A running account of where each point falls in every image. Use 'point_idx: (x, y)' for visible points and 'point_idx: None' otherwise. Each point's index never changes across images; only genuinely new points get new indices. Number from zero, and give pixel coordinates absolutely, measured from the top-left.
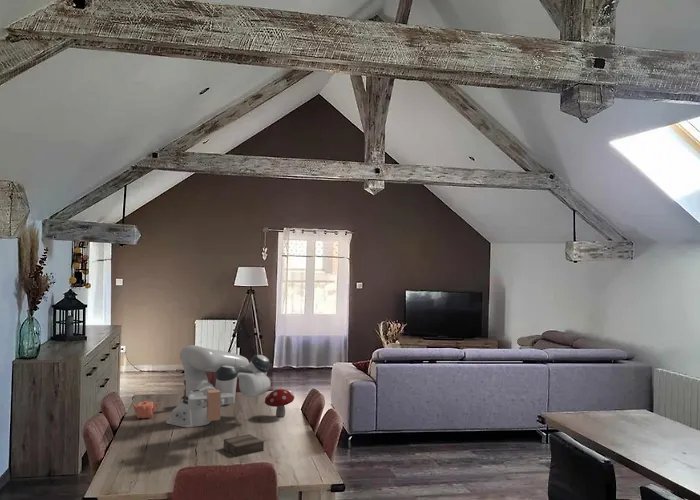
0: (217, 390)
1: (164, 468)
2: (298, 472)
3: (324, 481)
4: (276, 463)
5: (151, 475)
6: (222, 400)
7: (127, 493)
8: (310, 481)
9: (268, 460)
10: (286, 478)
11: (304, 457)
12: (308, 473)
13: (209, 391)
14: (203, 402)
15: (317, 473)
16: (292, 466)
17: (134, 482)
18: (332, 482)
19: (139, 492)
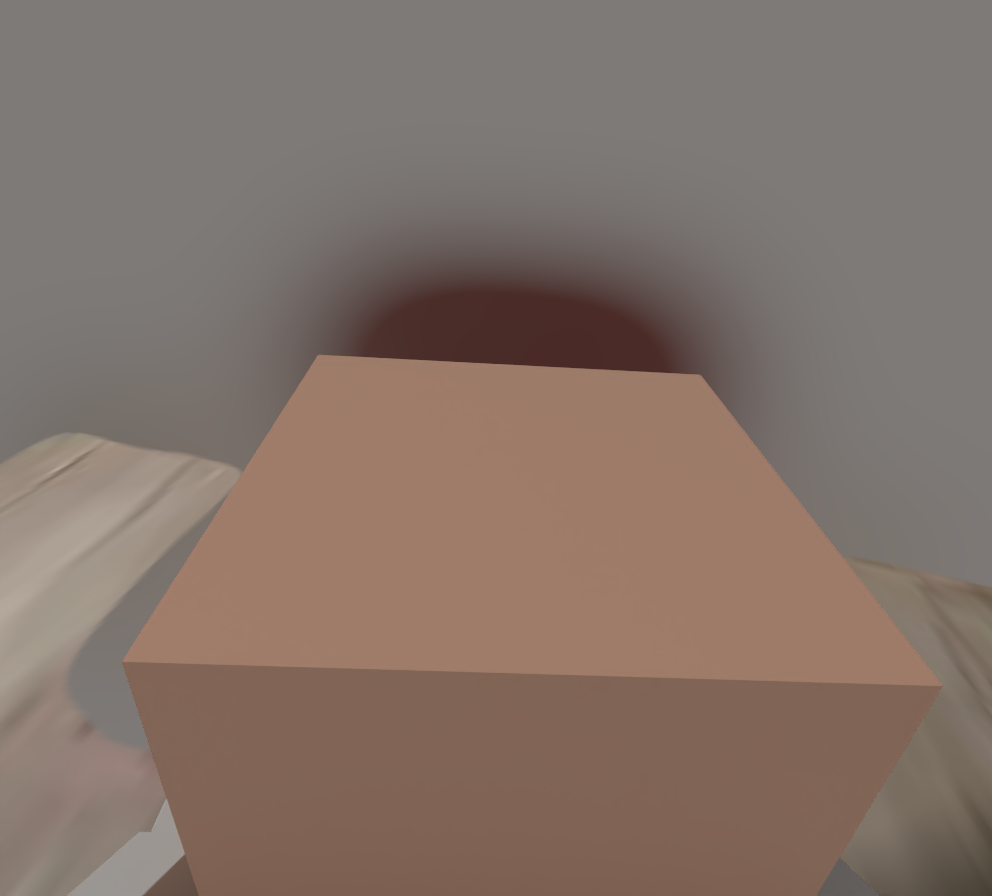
0: (326, 495)
1: (902, 873)
2: (84, 535)
3: (85, 449)
4: (59, 678)
5: (930, 755)
6: (146, 833)
7: (921, 577)
8: (132, 461)
9: (50, 754)
10: (194, 504)
11: None
12: (56, 514)
13: (708, 464)
14: (833, 871)
15: (21, 504)
16: (26, 605)
17: (976, 681)
18: (69, 437)
19: (867, 571)
